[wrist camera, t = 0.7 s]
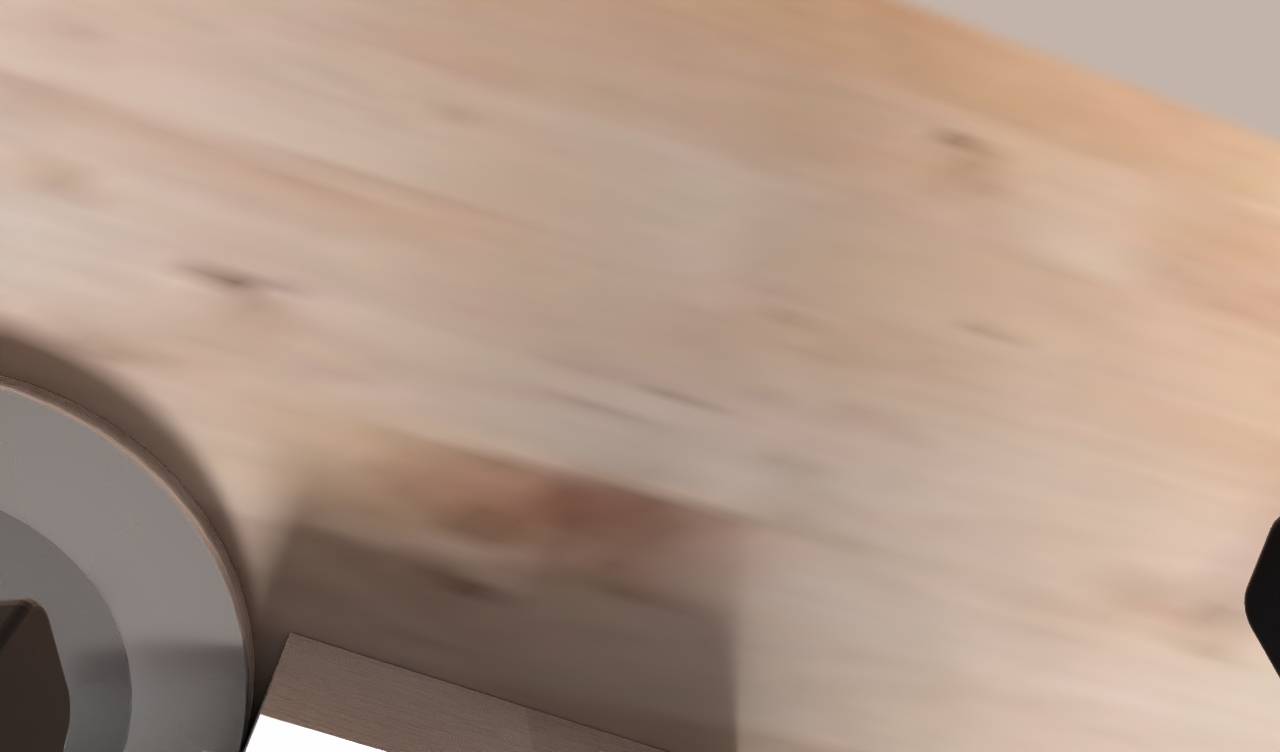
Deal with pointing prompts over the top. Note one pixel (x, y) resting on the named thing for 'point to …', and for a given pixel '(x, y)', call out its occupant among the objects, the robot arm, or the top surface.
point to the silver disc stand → (199, 618)
